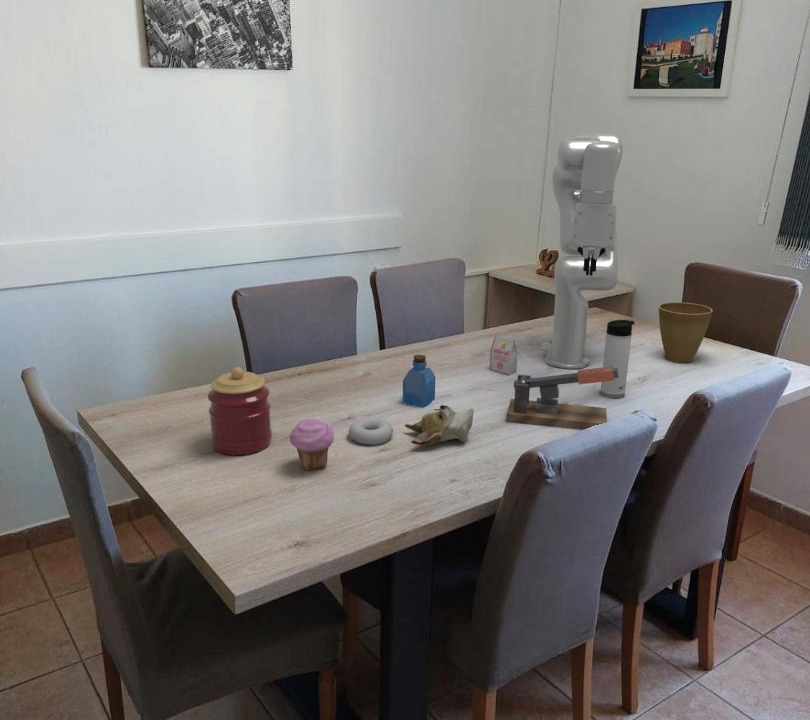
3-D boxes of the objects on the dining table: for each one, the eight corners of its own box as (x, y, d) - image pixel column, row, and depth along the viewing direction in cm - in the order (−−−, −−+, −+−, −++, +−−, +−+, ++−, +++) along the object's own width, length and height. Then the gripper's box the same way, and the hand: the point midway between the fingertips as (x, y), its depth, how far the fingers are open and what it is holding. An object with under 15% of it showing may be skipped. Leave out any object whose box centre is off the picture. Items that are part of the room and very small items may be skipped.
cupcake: (297, 478, 142) (295, 432, 138) (286, 460, 149) (284, 416, 146) (340, 470, 145) (339, 425, 142) (327, 453, 153) (326, 409, 149)
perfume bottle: (434, 399, 183) (436, 354, 179) (425, 407, 177) (426, 362, 173) (412, 395, 185) (413, 351, 181) (402, 403, 180) (403, 358, 176)
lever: (516, 403, 170) (512, 383, 169) (518, 396, 174) (514, 377, 173) (620, 391, 163) (617, 370, 162) (619, 384, 167) (616, 364, 166)
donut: (366, 452, 154) (402, 439, 160) (366, 438, 153) (402, 425, 159) (340, 436, 161) (374, 424, 167) (339, 423, 160) (374, 411, 166)
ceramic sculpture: (479, 411, 153) (410, 418, 151) (480, 447, 155) (412, 455, 154) (467, 393, 163) (402, 400, 161) (468, 428, 165) (405, 435, 164)
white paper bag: (497, 366, 207) (499, 333, 204) (516, 372, 203) (518, 338, 199) (489, 369, 205) (491, 336, 201) (508, 375, 200) (510, 341, 197)
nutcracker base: (506, 421, 169) (508, 386, 167) (510, 406, 179) (512, 372, 176) (606, 432, 164) (610, 395, 161) (605, 415, 173) (609, 380, 171)
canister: (242, 462, 148) (237, 382, 143) (198, 447, 155) (191, 370, 149) (284, 439, 159) (280, 364, 153) (241, 426, 165) (236, 354, 160)
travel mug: (626, 399, 184) (635, 324, 177) (600, 397, 185) (608, 323, 178) (624, 391, 189) (633, 318, 183) (599, 389, 191) (606, 316, 184)
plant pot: (709, 356, 218) (717, 305, 213) (699, 370, 206) (707, 316, 201) (659, 348, 225) (665, 299, 220) (646, 361, 213) (653, 309, 208)
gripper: (563, 198, 166) (557, 275, 172) (630, 201, 163) (621, 279, 169) (564, 194, 173) (558, 269, 179) (628, 197, 169) (620, 273, 176)
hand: (589, 274), depth 174 cm, fingers closed
